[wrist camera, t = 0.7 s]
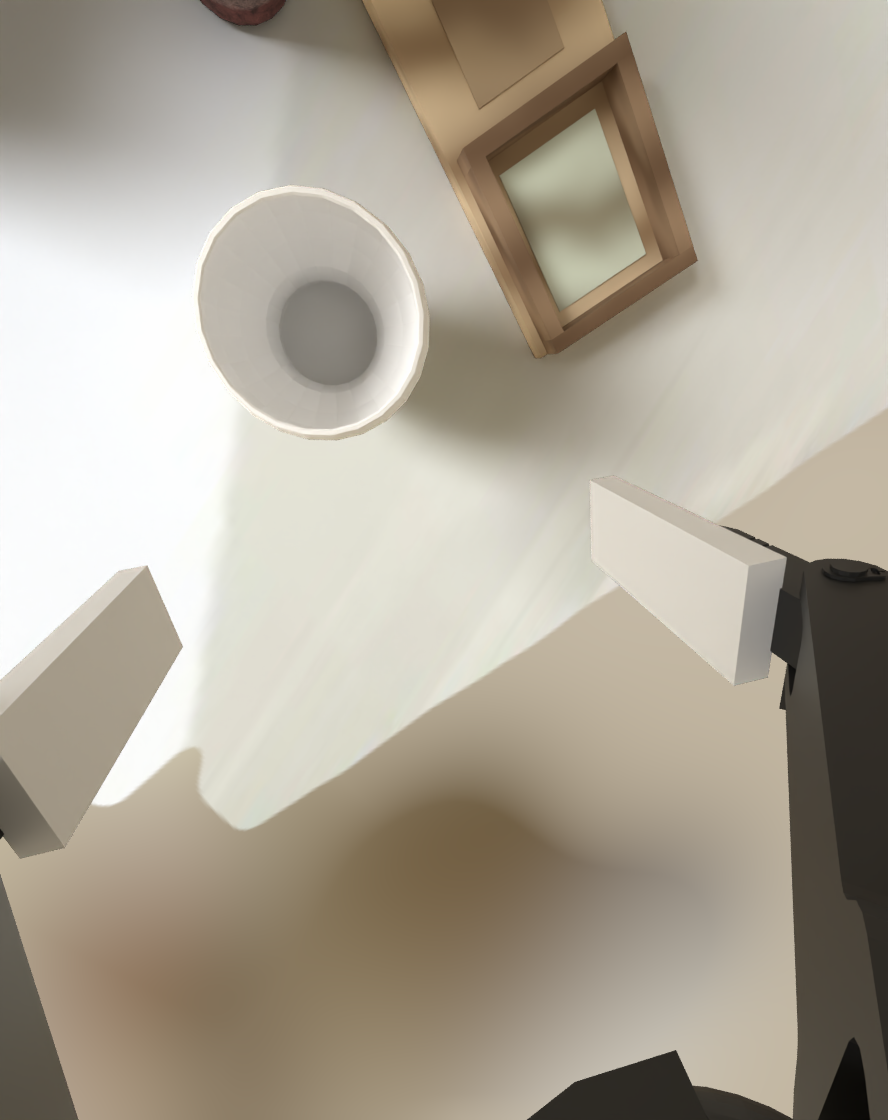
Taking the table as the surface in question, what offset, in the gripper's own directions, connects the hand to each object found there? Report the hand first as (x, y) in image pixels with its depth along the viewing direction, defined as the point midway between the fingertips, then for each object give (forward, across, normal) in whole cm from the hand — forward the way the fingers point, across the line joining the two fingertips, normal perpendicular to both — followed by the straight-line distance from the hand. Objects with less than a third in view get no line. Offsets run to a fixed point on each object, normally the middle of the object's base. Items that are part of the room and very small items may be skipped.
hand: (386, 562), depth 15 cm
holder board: (+25, +14, +17) cm, 33 cm away
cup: (+25, -1, +7) cm, 26 cm away
